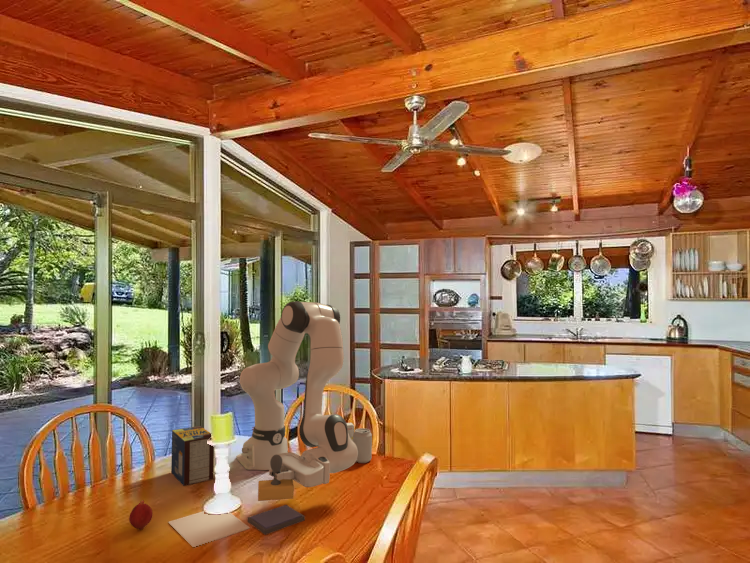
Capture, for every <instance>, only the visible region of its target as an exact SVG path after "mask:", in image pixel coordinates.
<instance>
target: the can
mask: <svg viewBox="0 0 750 563" xmlns="http://www.w3.org/2000/svg"><path fill="white" fill-rule="evenodd" d="M372 436H373V433H371V430H370V429H368V428H363V427H362V428H356V429H354V433H353V442H354V443H355V444H356V446H357V450H358V457H357V460H356V462H355V463H357V462H358V463H359V464H367V463H369V462H370V461H371V460H372V451H373V450H372V446H373V444H372V442H373V437H372Z"/></svg>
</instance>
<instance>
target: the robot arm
mask: <svg viewBox="0 0 750 563" xmlns="http://www.w3.org/2000/svg"><path fill="white" fill-rule="evenodd" d="M340 313H341V312H339V309H337V307H336V306H333V305H331V304H325V303H319V302H314V301H312V302H311V301H310V302H308V301H298V300H295V301H289V302H287V303H286V304H285V305H284V306H283V308H282V311H281V315H280V318H279V320H278V322H277V324H276V326H275V328H274V330H273V333H272V335H271V337H270V340H269V342H268V344H267V349H268V351H269V353H270V355H271V356H272V357H271V359H270V360H269V361H268V362H262V363H255V364H252V365H249V366H247V367H245V368H244V369H243V370H242V371H241V372H240V376H239V384H240V387H241V389H242V390H243V391H244V392H245V393H246V394H248V396H249V397H250V399H251V401H252V404H253V408H254V409H253V410H254V426H252V427H251V430H252V433H251V436H250V437H249V438H248V439H247V440H246V441H244V443H243V445H242V448H241V453H239V454H237V455H236V456H235V459H236V460H237V461H238V462H239V463H240V464H241V466H242V467H243V468H244V469H245V470H248V471H249V470H250V471H252V470H258V471H269V472H268V473H269V476H271V477H273V478H274V475H273V471H272V469H271V465H270V461H271V458H272V457H273V456H274V455H280V456H281V458H282V466H281V469H280V472H277V473H275V478H276V479H277V480H282V479H292V480H293V482H296V483H297V484H299V485H301V486H303V487H305V488H312V487H316V486H319V485H326V484H329V482H330V477H331V476H330V475H331V474H335V473H339V472H342V471H344V470H347V469H349V468H351V467H352V466H353V465H354V464H355V463H357V462H356V460H357V457H358V450H357V446H356V444H355V443H354V442H353V441H352V440H351V438H350V436H349V434H348V428H347V424H346V423H347V422H346V420H345V418H344V417H343V416H342V415H340V414H337V413H334V414H332V413H331V414H324V415H323V413H322V412H323V411H322V410H323V397H324V396H323V395H324V389H325V387H326V385H327V383H328V382H329V381H330V380H331V379H332V378H334V377H335V376H336V375H338V374H339V372H341V369H342V368H343V365H344V356H345V355H344V342H343V336H342V335H343V334H342V330H341V325H340V323H341V315H340ZM305 334H307V335H308V336H309V339H310V361H309V366H308V367H309V368H308V371H307V374H306V378H305V385H304V386H305V387H304V400H303V413H302V417H301V420H300V421H301V422H300V423H299V430H298V433H299V437H300V440H301V441H302V443H303V444H304V445H305V446H307V447H309V448H310V449H307V450H304V451H303V452H302V453H301V455H299V454H296V453H295V452H288V451H289V450H288V439H287V437H285V436H286V426H285V406H284V404H283V403H282V402H281V401H279V400H277V397H276V394H275V393H276V392H275V391H276V390H282V389H286V388H288V387H290V386H292V385H295V383H297V382H298V380H299V377H300V376H299V375H300V370H299V367H298V365H297V364H296V356H297V353H298V352H299V349H300V347H301V344H302V341H303V340H304V338H305Z"/></svg>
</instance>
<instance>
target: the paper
mask: <svg viewBox="0 0 750 563" xmlns="http://www.w3.org/2000/svg"><path fill="white" fill-rule="evenodd" d="M204 511H205V510H202V511H200V512H199V511H198V512H196V513H193V514H189V515H187V516H183V517H179V518H176V519H172V520H170V521H167V523H169V524H170V525H171V526H172V527H173V528H174V529H175V530H176V531H177V532H178V533H179V534H180V535H181V536H182V537H183V538H184V539H185V540H186V541H187V542H188V543H189V544H190V545H191V546H192V547H195V548H197V547H196V546H198V547H200V546H199V545H201V546H203V545H202V544H204V545H206V544H205V543H207V544H209V543H211V541H212V542H215V541H218V540H220V539H223V538H226V537H229V536H233V535H235V534H237V533H240V532H243V531H247V530H250V526H249V525H248V524H246V523H245V522H244V521H242V520H240V518H238V517H237V516H236V515H234V514H233V513H231V512H230V513H228V514H221V515H208V514H204ZM169 524H168V525H169ZM171 526H170V527H171ZM172 527H171V528H172ZM173 528H172V529H173ZM175 530H174V531H175ZM176 531H175V532H176ZM177 532H176V533H177ZM178 533H177V534H178ZM179 534H178V535H179ZM181 536H180V537H181ZM182 537H181V538H182ZM183 538H182V539H183ZM184 539H183V540H184ZM185 540H184V541H185ZM214 540H215V541H214ZM186 541H185V542H186ZM187 542H186V543H187ZM208 542H209V543H208ZM188 543H187V544H188ZM189 544H188V545H189ZM190 545H189V546H190ZM191 546H190V547H191Z"/></svg>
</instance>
